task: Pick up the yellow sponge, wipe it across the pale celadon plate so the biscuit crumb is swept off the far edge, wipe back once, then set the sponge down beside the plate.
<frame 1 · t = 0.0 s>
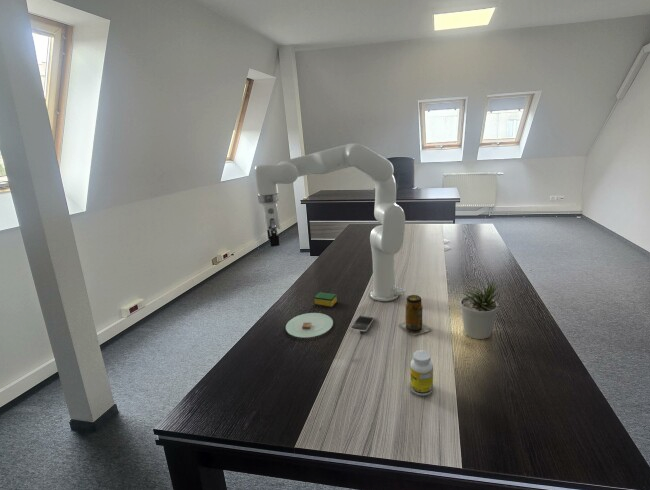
hand: (273, 242, 139), 31 cm above the table, tool pointing down, fingers open, 9 cm apart
condiment: (415, 328, 133), on the table
potted plant: (478, 334, 127), on the table
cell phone: (362, 326, 136), on the table
pill bottle: (421, 389, 102), on the table
crumb: (306, 326, 135), point 1 cm above the table, touching plate
plate: (309, 327, 137), on the table
sponge: (326, 305, 154), on the table
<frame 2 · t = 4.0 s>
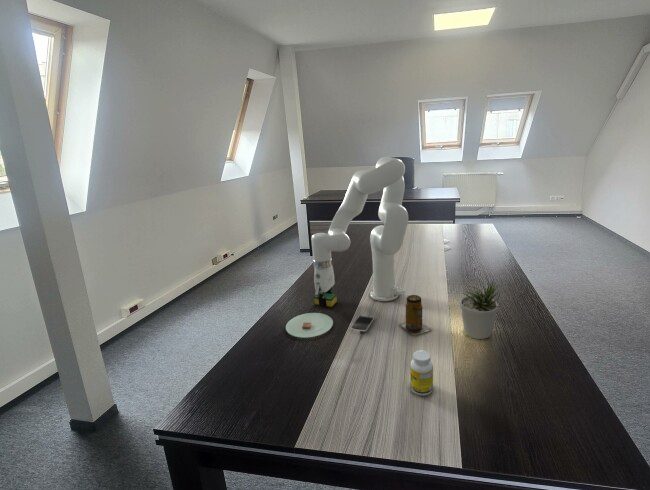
hand: (325, 302, 154), 1 cm above the table, tool pointing down, fingers closed on sponge, 5 cm apart
sponge: (326, 305, 154), on the table, touching gripper
everything else where it was.
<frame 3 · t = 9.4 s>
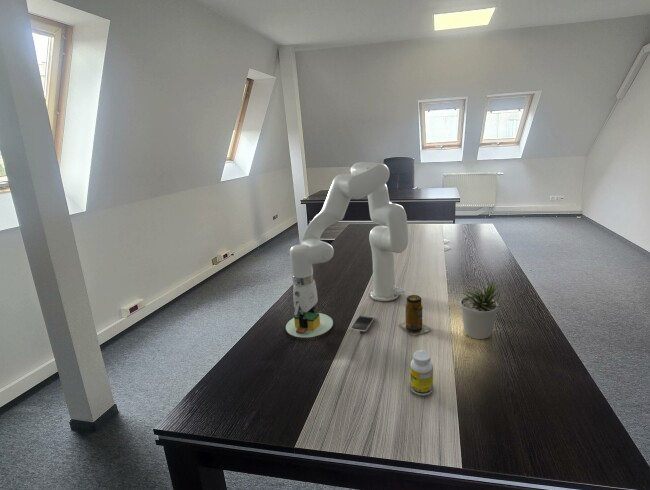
hand: (307, 323, 136), 2 cm above the table, tool pointing down, fingers closed on sponge, 5 cm apart
crumb: (301, 331, 132), point 1 cm above the table, touching gripper
sponge: (307, 325, 136), point 1 cm above the table, touching gripper, plate
everything else where it was.
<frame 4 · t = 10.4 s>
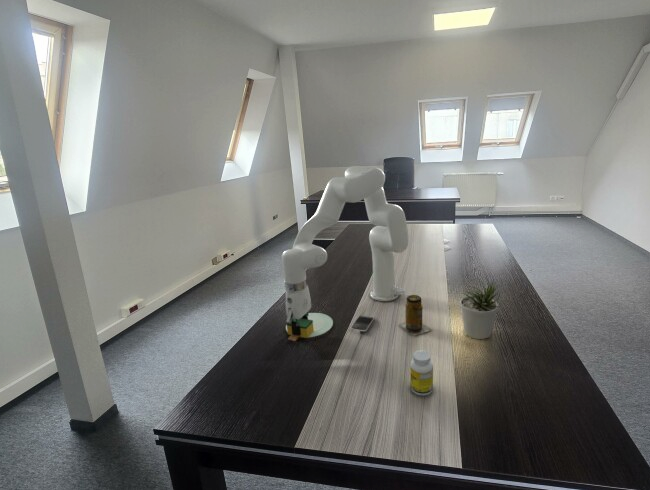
hand: (300, 330, 131), 2 cm above the table, tool pointing down, fingers closed on sponge, 5 cm apart
crumb: (294, 339, 128), point 1 cm above the table, tilted 12°, touching gripper, plate, sponge
sponge: (300, 332, 131), point 1 cm above the table, touching crumb, gripper
everything else where it was.
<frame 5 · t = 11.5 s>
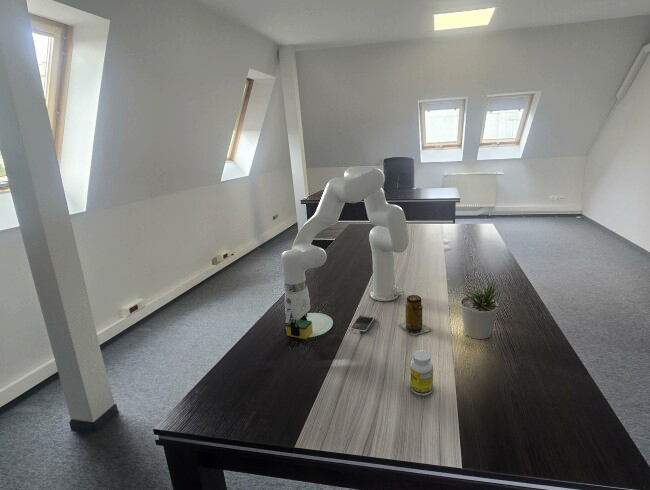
hand: (299, 330, 130), 2 cm above the table, tool pointing down, fingers closed on sponge, 5 cm apart
crumb: (293, 342, 128), on the table
sponge: (299, 333, 131), point 1 cm above the table, touching gripper, plate
everything else where it was.
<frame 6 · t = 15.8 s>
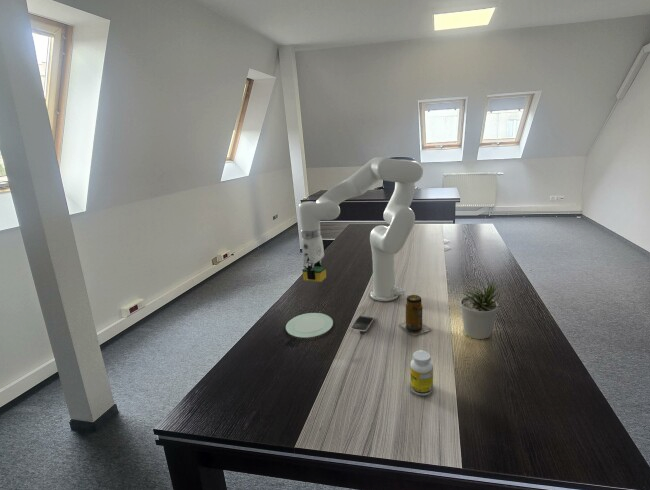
hand: (314, 276, 146), 15 cm above the table, tool pointing down, fingers closed on sponge, 5 cm apart
sponge: (314, 278, 147), point 14 cm above the table, touching gripper
everything else where it was.
when the fingers open (1 cm above the table, at t = 19.2 s): sponge stays where it is, on the table.
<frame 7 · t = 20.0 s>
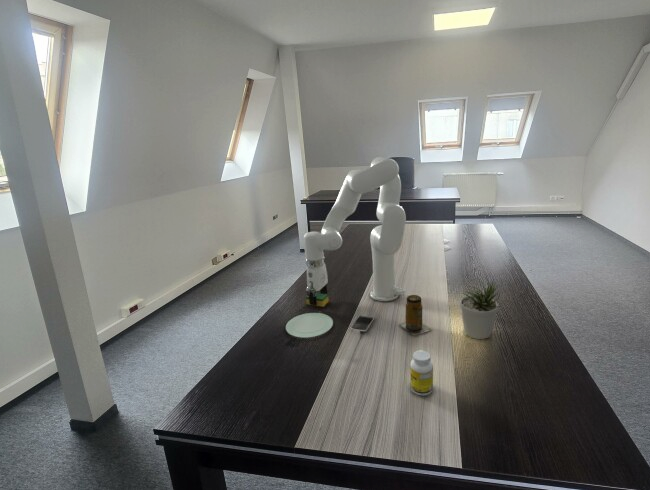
hand: (318, 299, 153), 3 cm above the table, tool pointing down, fingers open, 9 cm apart
sponge: (317, 305, 154), on the table
everything else where it was.
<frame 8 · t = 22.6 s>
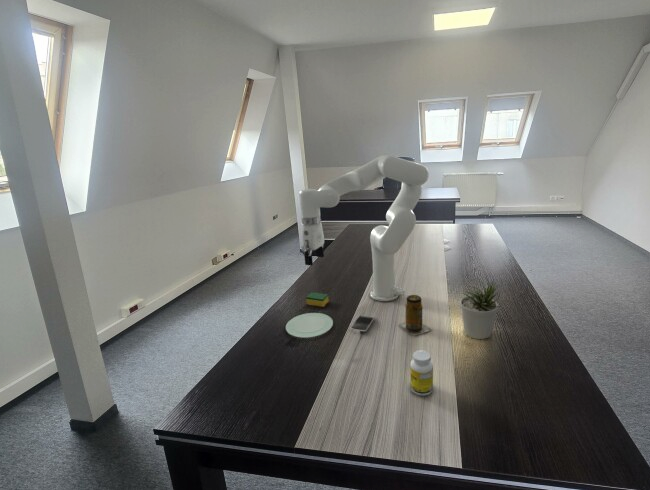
hand: (314, 260, 148), 20 cm above the table, tool pointing down, fingers open, 9 cm apart
nothing on the table moved.
at the end: crumb inside the target area (7.8 cm from its centre), on the table; sponge inside the target area (0.3 cm from its centre), on the table; the gripper is holding nothing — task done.
